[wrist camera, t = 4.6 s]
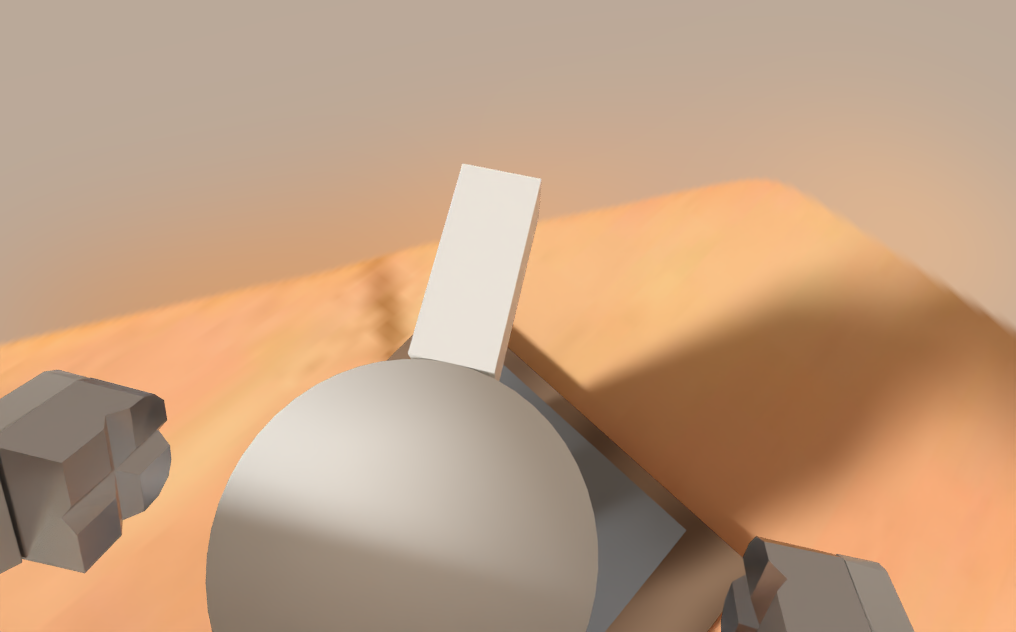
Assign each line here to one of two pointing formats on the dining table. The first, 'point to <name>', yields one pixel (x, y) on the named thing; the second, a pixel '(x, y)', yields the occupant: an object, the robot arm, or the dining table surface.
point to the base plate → (690, 563)
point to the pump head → (417, 471)
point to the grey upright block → (612, 519)
